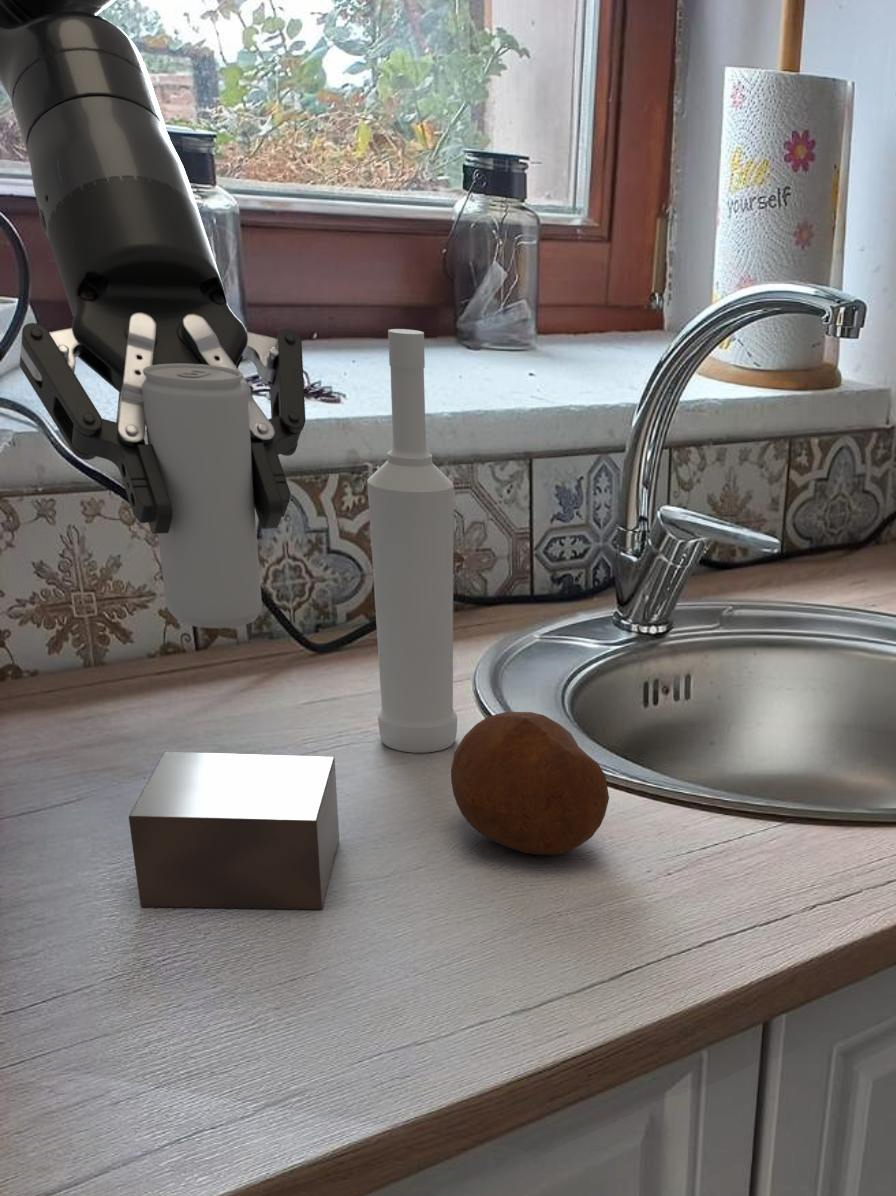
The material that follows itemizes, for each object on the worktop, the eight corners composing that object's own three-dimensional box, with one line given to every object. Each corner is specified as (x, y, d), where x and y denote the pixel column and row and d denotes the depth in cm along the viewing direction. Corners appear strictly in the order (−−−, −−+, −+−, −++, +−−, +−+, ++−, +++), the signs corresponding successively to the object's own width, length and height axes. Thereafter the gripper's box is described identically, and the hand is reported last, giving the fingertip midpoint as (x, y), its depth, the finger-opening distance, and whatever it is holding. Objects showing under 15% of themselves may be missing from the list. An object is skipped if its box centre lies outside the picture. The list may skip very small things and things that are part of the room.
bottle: (471, 735, 103) (467, 333, 91) (433, 759, 99) (422, 340, 86) (404, 721, 104) (390, 322, 92) (362, 744, 100) (342, 329, 88)
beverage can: (149, 622, 78) (120, 371, 72) (194, 598, 82) (170, 359, 76) (239, 635, 78) (217, 384, 72) (280, 611, 82) (262, 371, 76)
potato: (547, 891, 84) (549, 762, 80) (406, 834, 88) (402, 710, 85) (643, 846, 90) (649, 724, 86) (506, 795, 95) (506, 678, 91)
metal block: (140, 907, 78) (128, 816, 75) (173, 835, 86) (163, 750, 83) (322, 910, 79) (316, 821, 77) (339, 839, 87) (334, 756, 85)
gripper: (-27, 158, 71) (73, 484, 69) (277, 180, 79) (376, 474, 76) (-32, 270, 77) (60, 572, 75) (251, 281, 85) (342, 555, 83)
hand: (219, 521), depth 76 cm, fingers closed on beverage can, 4 cm apart
